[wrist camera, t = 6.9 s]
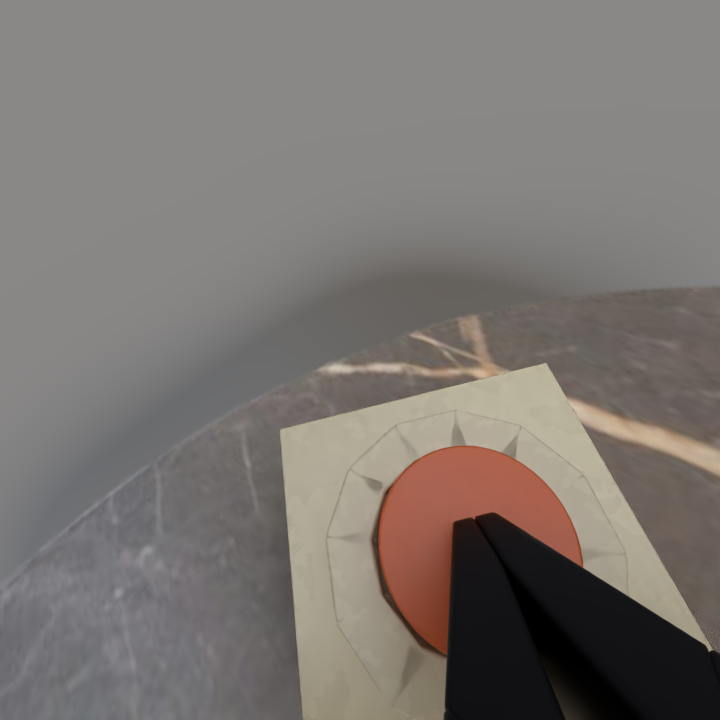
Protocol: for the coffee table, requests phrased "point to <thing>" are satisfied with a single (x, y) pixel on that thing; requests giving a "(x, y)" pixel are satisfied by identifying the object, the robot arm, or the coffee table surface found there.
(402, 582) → the power button
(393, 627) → the beige button housing
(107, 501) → the coffee table surface
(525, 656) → the robot arm
